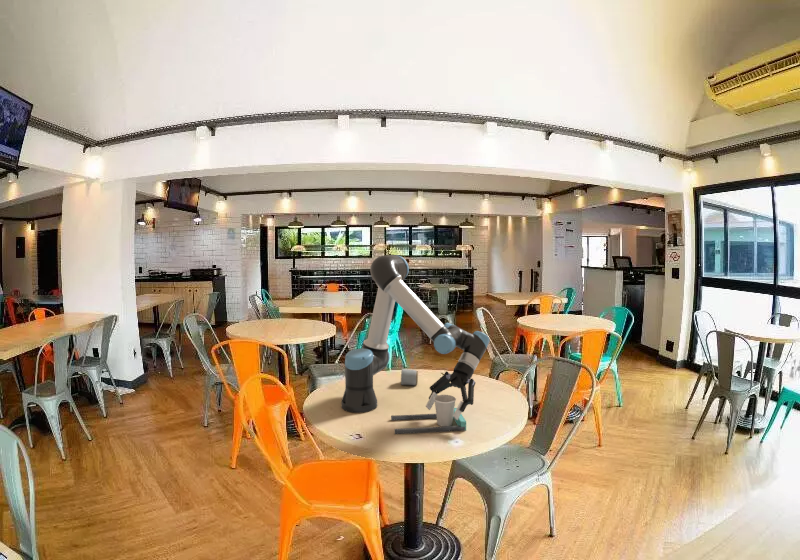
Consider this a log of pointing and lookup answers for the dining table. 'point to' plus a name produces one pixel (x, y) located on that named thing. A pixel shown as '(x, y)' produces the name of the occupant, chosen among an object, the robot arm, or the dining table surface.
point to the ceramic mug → (409, 377)
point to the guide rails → (423, 429)
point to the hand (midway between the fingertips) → (440, 413)
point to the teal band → (460, 420)
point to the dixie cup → (444, 409)
